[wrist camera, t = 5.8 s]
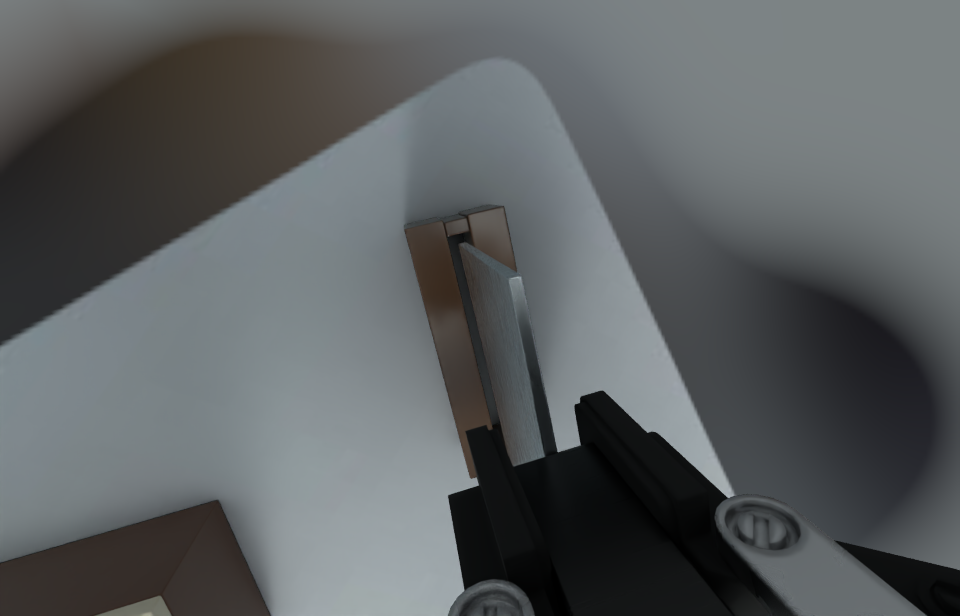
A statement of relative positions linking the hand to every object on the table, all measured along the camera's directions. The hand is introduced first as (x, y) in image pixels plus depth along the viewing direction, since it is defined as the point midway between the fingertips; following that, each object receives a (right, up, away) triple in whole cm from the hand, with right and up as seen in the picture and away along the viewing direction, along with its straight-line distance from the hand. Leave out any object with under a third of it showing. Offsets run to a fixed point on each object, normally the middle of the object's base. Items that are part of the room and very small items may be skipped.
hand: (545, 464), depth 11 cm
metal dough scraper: (-1, +1, +6) cm, 7 cm away
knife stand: (-2, +3, +12) cm, 12 cm away
